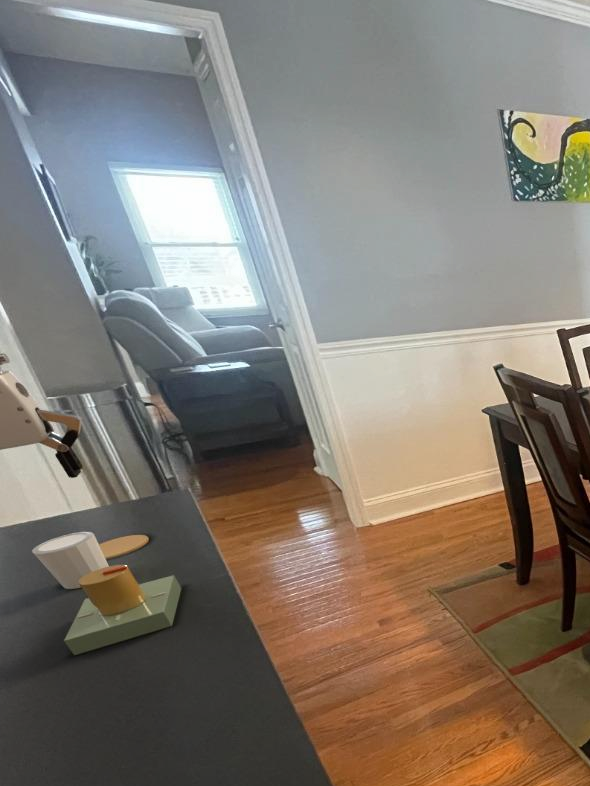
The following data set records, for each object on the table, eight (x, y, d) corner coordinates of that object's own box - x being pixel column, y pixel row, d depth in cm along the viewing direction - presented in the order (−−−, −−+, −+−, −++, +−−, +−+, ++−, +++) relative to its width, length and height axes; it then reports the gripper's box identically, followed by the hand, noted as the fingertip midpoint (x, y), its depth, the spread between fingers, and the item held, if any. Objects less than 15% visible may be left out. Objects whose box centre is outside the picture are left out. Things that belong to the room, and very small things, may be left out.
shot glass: (72, 594, 92) (46, 556, 89) (48, 587, 95) (21, 549, 91) (126, 571, 98) (103, 534, 95) (101, 564, 100) (78, 528, 97)
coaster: (79, 566, 100) (77, 564, 100) (90, 546, 106) (89, 544, 106) (144, 549, 104) (143, 547, 104) (152, 532, 111) (151, 530, 110)
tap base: (74, 655, 79) (62, 639, 78) (94, 612, 88) (84, 598, 86) (172, 626, 84) (162, 610, 83) (181, 588, 93) (173, 574, 91)
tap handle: (95, 620, 82) (72, 586, 79) (102, 603, 85) (81, 571, 83) (143, 606, 84) (123, 573, 81) (148, 590, 88) (129, 559, 85)
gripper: (51, 353, 87) (114, 461, 95) (-132, 375, 78) (-45, 491, 86) (35, 361, 81) (104, 476, 89) (-163, 386, 73) (-68, 510, 81)
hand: (31, 483), depth 88 cm, fingers open, 9 cm apart
